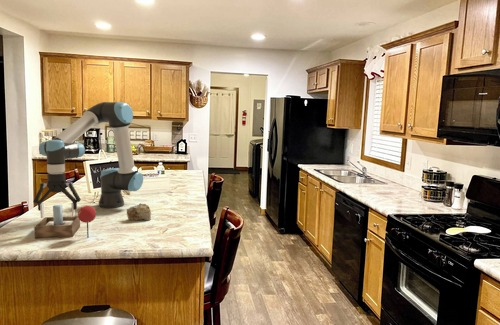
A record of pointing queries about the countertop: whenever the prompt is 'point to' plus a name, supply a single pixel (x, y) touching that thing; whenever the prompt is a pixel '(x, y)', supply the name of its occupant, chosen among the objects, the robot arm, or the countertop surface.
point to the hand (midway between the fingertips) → (58, 216)
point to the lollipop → (87, 215)
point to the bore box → (57, 228)
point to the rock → (139, 212)
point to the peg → (58, 215)
